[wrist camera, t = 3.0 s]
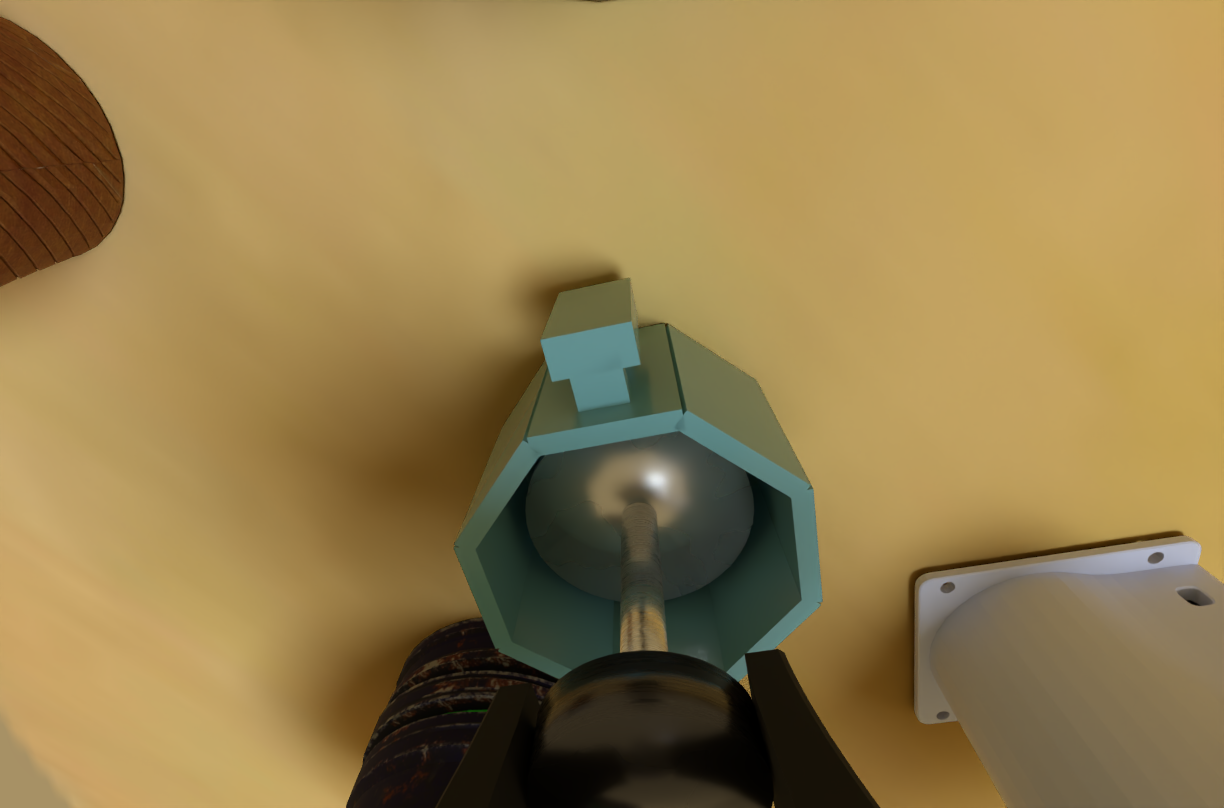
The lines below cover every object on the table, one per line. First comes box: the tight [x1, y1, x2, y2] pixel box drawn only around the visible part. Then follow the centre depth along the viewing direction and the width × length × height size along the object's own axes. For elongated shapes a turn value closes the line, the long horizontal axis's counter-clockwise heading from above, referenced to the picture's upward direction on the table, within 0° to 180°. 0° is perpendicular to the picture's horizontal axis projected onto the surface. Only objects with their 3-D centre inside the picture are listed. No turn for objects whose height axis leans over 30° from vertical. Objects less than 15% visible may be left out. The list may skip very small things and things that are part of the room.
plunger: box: [525, 431, 774, 808], centre depth 13 cm, size 6×6×8 cm
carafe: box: [454, 278, 823, 682], centre depth 16 cm, size 8×10×6 cm
